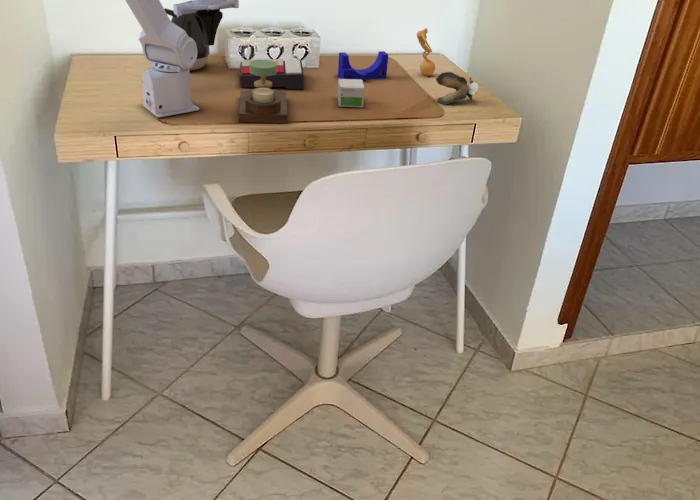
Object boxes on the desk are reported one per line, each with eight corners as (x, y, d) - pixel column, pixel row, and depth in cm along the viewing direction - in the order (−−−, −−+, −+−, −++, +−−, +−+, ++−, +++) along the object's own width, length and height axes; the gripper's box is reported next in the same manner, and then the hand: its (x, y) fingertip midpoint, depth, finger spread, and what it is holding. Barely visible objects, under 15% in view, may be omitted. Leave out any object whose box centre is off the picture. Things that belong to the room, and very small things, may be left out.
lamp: (277, 90, 146) (277, 68, 144) (249, 89, 146) (248, 67, 143) (276, 81, 151) (276, 60, 149) (249, 80, 151) (249, 59, 148)
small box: (338, 107, 151) (339, 86, 149) (336, 98, 156) (337, 77, 153) (363, 108, 152) (365, 87, 149) (361, 99, 157) (362, 78, 154)
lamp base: (287, 123, 141) (287, 105, 139) (238, 122, 140) (238, 104, 138) (285, 100, 153) (285, 83, 151) (240, 99, 152) (240, 81, 149)
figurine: (439, 80, 173) (446, 32, 166) (417, 80, 171) (423, 32, 165) (427, 70, 179) (433, 24, 173) (406, 70, 178) (411, 24, 171)
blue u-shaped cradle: (343, 82, 166) (344, 57, 163) (337, 76, 170) (339, 52, 167) (388, 80, 170) (390, 56, 167) (382, 74, 174) (384, 51, 170)
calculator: (240, 58, 165) (301, 57, 166) (241, 75, 167) (301, 74, 169) (238, 72, 156) (303, 71, 157) (240, 90, 158) (304, 89, 160)
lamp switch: (273, 104, 140) (273, 95, 139) (252, 104, 139) (252, 94, 138) (273, 97, 144) (273, 87, 143) (252, 96, 143) (252, 87, 142)
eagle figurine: (462, 88, 165) (430, 83, 161) (477, 69, 159) (445, 63, 155) (469, 113, 162) (436, 109, 158) (485, 95, 156) (452, 90, 152)
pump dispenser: (163, 62, 170) (158, 0, 162) (204, 60, 174) (201, -2, 166) (172, 75, 162) (167, 10, 154) (215, 72, 166) (212, 8, 158)
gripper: (181, -12, 136) (187, 54, 144) (244, -20, 143) (246, 44, 151) (166, -20, 140) (173, 45, 148) (228, -27, 148) (231, 35, 156)
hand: (209, 44), depth 150 cm, fingers closed
